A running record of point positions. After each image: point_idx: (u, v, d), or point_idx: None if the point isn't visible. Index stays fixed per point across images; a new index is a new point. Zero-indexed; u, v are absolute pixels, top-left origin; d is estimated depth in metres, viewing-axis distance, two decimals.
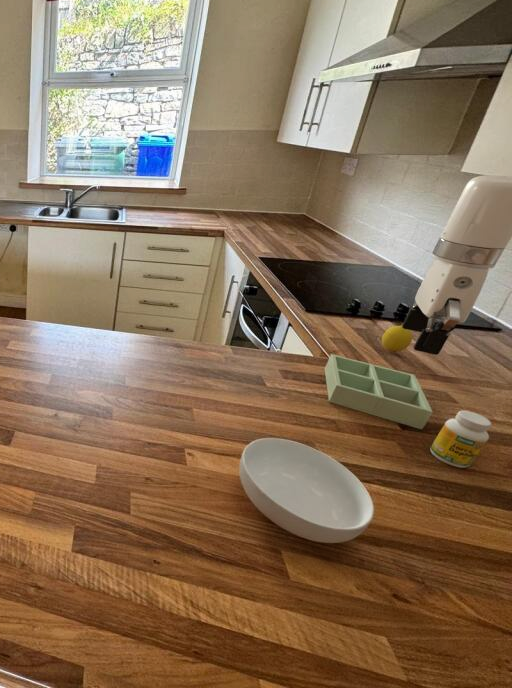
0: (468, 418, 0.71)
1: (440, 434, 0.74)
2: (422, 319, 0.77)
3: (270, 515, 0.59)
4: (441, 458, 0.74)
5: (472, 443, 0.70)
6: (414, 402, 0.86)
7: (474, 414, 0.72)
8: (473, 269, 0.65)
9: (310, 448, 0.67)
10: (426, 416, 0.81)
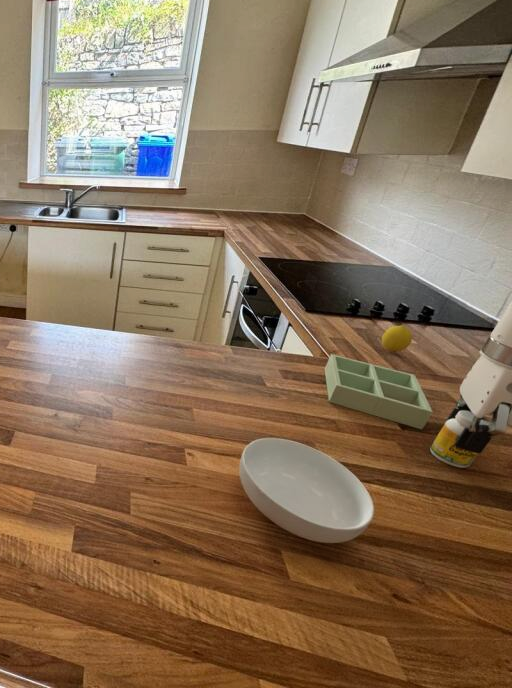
0: (468, 418, 0.71)
1: (440, 434, 0.74)
2: None
3: (270, 515, 0.59)
4: (441, 458, 0.74)
5: None
6: (414, 402, 0.86)
7: None
8: None
9: (310, 448, 0.67)
10: (426, 416, 0.81)
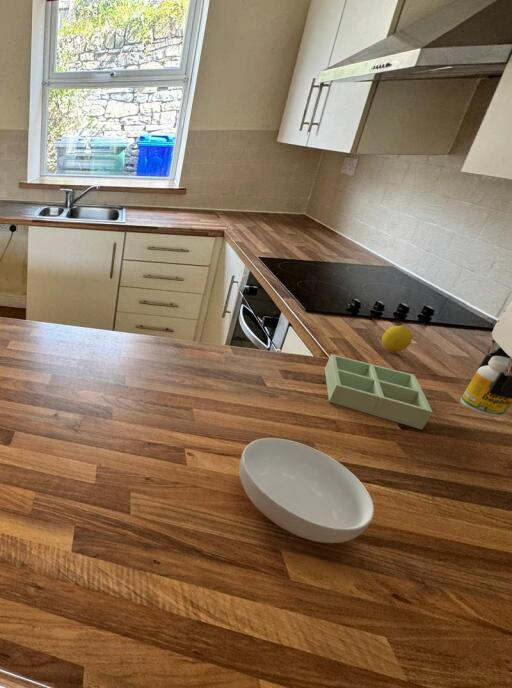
0: (502, 363, 0.66)
1: (472, 383, 0.70)
2: None
3: (270, 515, 0.59)
4: (474, 408, 0.70)
5: None
6: (414, 402, 0.86)
7: (508, 359, 0.67)
8: None
9: (310, 448, 0.67)
10: (426, 416, 0.81)
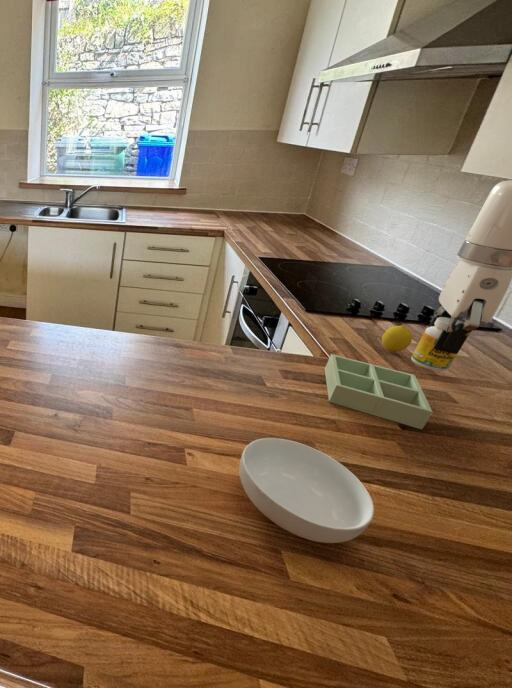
0: (445, 322, 0.75)
1: (420, 341, 0.79)
2: None
3: (270, 515, 0.59)
4: (421, 364, 0.79)
5: None
6: (414, 402, 0.86)
7: None
8: (499, 271, 0.67)
9: (310, 448, 0.67)
10: (426, 416, 0.81)
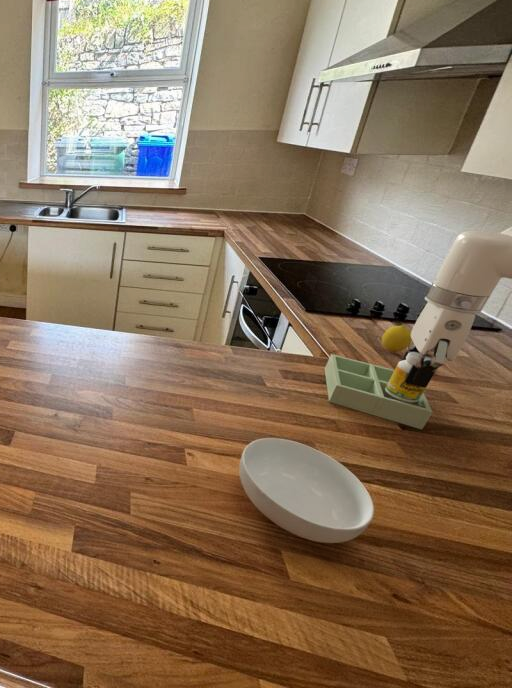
0: (415, 357, 0.81)
1: (393, 374, 0.84)
2: None
3: (270, 515, 0.59)
4: (394, 395, 0.84)
5: None
6: (414, 402, 0.86)
7: None
8: (462, 314, 0.72)
9: (310, 448, 0.67)
10: (426, 416, 0.81)
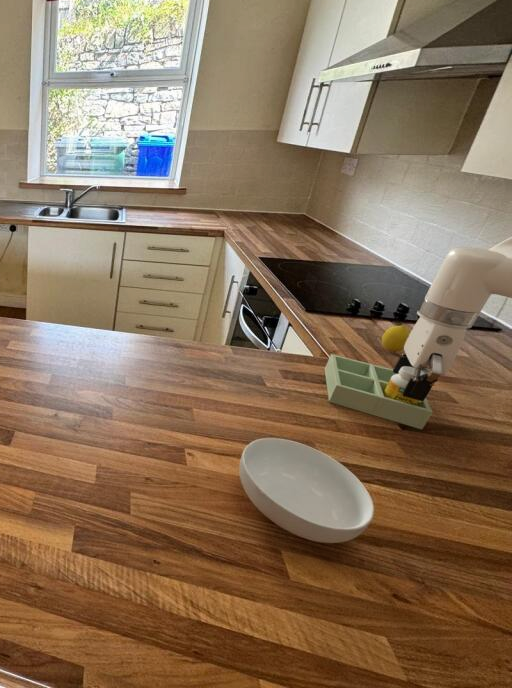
0: (408, 372, 0.82)
1: (386, 388, 0.86)
2: (410, 365, 0.86)
3: (270, 515, 0.59)
4: None
5: None
6: None
7: (414, 369, 0.83)
8: (453, 329, 0.74)
9: (310, 448, 0.67)
10: (426, 416, 0.81)
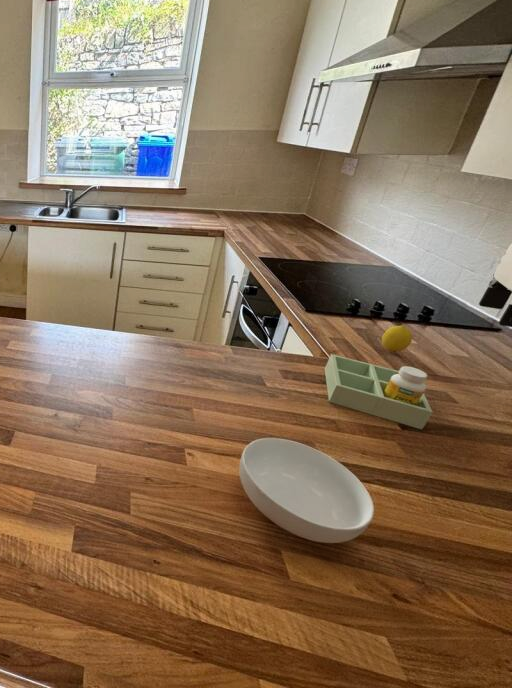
0: (408, 372, 0.82)
1: (386, 388, 0.86)
2: (501, 296, 0.78)
3: (270, 515, 0.59)
4: None
5: (411, 393, 0.82)
6: None
7: (414, 369, 0.83)
8: None
9: (310, 448, 0.67)
10: (426, 416, 0.81)
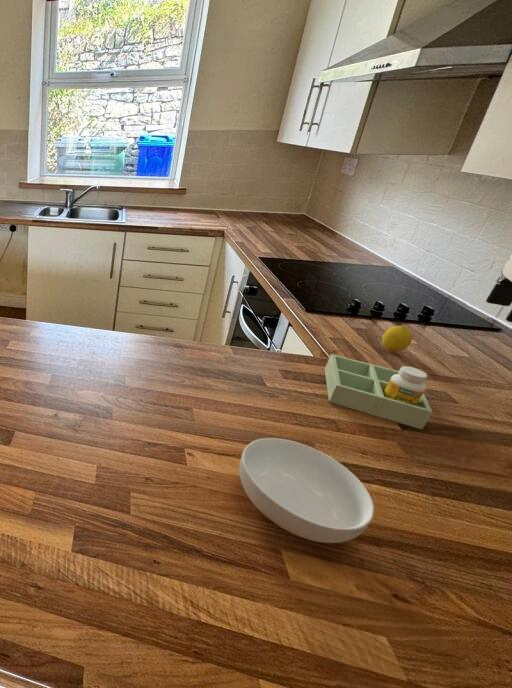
0: (408, 372, 0.82)
1: (386, 388, 0.86)
2: (508, 293, 0.78)
3: (270, 515, 0.59)
4: None
5: (411, 393, 0.82)
6: None
7: (414, 369, 0.83)
8: None
9: (310, 448, 0.67)
10: (426, 416, 0.81)
